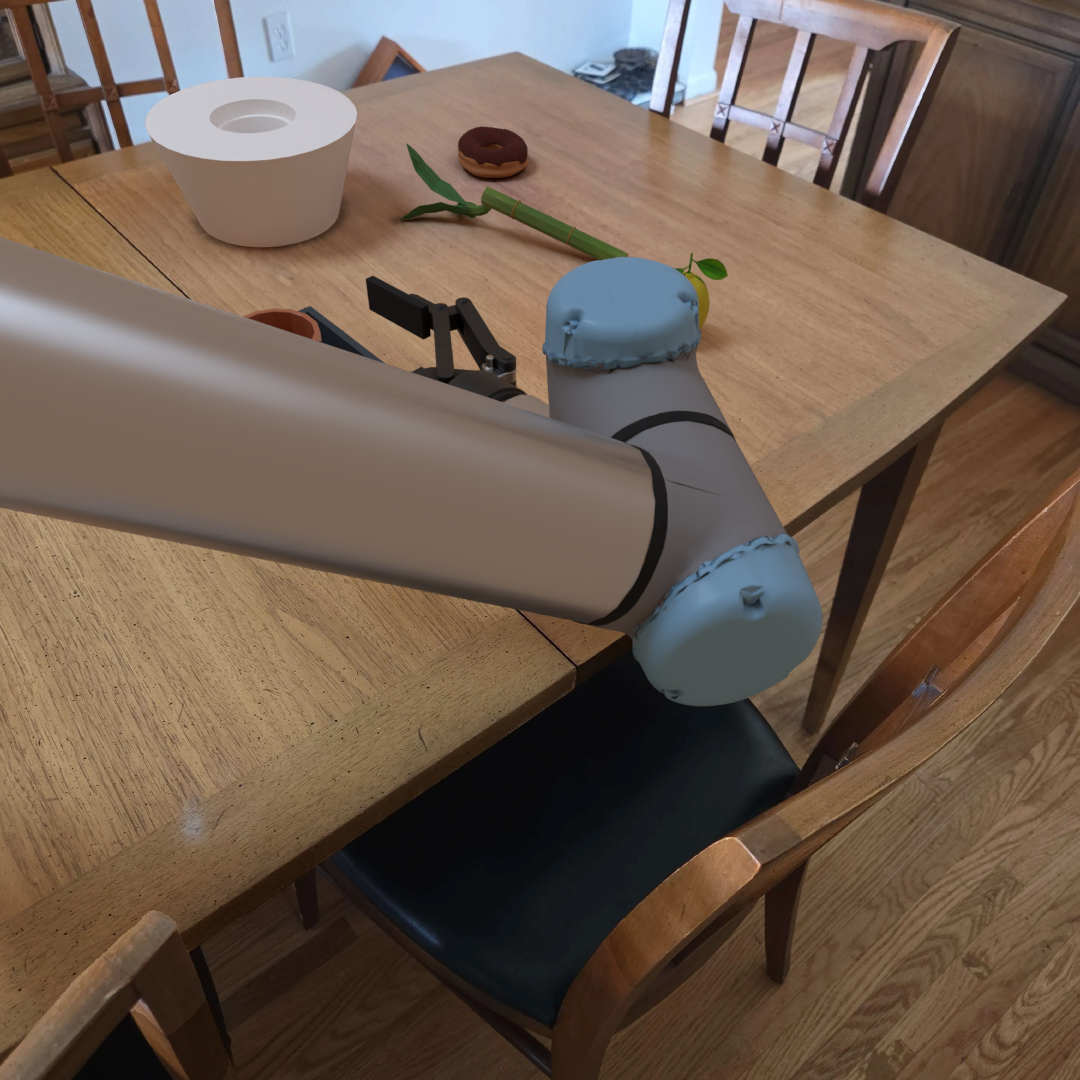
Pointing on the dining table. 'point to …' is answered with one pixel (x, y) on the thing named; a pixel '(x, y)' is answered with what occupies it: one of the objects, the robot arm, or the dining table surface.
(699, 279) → the lemon
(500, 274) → the dining table surface
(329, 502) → the robot arm
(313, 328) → the cup
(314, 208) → the white tapered round pot
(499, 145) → the donut
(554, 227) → the decorative plant
